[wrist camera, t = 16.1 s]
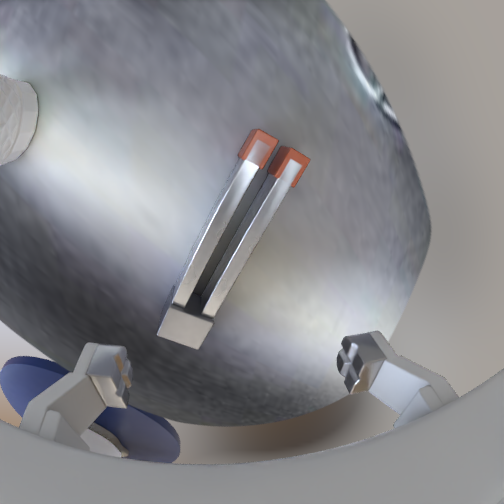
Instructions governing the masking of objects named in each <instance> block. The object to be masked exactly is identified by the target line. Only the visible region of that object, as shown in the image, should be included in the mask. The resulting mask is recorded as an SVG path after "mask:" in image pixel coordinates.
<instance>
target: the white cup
mask: <svg viewBox="0 0 504 504" xmlns="http://www.w3.org/2000/svg"><path fill="white" fill-rule="evenodd" d="M38 112H39V111H38V102H37V94H36V93H35V91H34V90H33V88H32V86H31V85H30V83H27V82H23V81H19V80H15V79H11V78H8V77H7V76H5V75H0V165H3V164H6V163H9V162H12V161H14V160H16V159H17V158H18V157H19V156H20V155H21V154H22V153H23V152H24V151H25V150H26V149H27V147H28V145H29V143H30V141H31V138H32V136H33V134H34V132H35V128H36V123H37V117H38Z"/></svg>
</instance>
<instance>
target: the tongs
mask: <svg viewBox="0 0 504 504" xmlns="http://www.w3.org/2000/svg"><path fill="white" fill-rule="evenodd" d="M278 142H279V140H278V139H276V138H274V137H273V136H271V135H269V134H267V133H265V132H264V131H262V130H260V129H254V130H252V131H251V133H250V134H249V136H248V138H247V140H246V141H245V143H244V145H243V147H242V148H241V150H240V152H239V154H238V156H239V157H240V158H239V160H238V162H237V164H236V165H235V167H234V169H233V171H232V173H231V175H230V176H229V178H228V180H227V182H226V184H225V186H224V188H223V189H222V191H221V193H220V195H219V197H218V199H217V201H216V203H215V205H214V207H213V208H212V210H211V212H210V214H209V216H208V218H207V220H206V222H205V224H204V226H203V228H202V230H201V232H200V234H199V236H198V238H197V240H196V242H195V244H194V246H193V248H192V250H191V252H190V255H189V257H188V259H187V261H186V263H185V265H184V267H183V269H182V271H181V274H180V276H179V278H178V280H177V282H176V284H175V286H173V288H172V290H171V292H170V294H169V297H168V299H167V301H166V303H165V306H164V308H163V310H162V313H161V317H160V321H159V326H158V330H157V336H160V337H163V338H166V339H168V340H171V341H174V342H177V343H180V344H182V345H185V346H188V347H191V348H194V349H197V350H198V349H199V348H200V346H201V344H202V343H203V341H204V339H205V338H206V336H207V334H208V333H209V331H210V329H211V328H212V326H213V324H214V316H215V315H216V313H217V311H218V310H219V308H220V306H221V305H222V303H223V301H224V299H225V298H226V296H227V294H228V293H229V291H230V289H231V288H232V286H233V284H234V282H235V281H236V279H237V277H238V276H239V274H240V272H241V271H242V269H243V267H244V265H245V264H246V262H247V260H248V259H249V257H250V255H251V254H252V252H253V250H254V248H255V247H256V245H257V243H258V242H259V240H260V238H261V237H262V235H263V233H264V231H265V230H266V228H267V226H268V225H269V223H270V221H271V220H272V218H273V216H274V215H275V213H276V211H277V209H278V208H279V206H280V204H281V203H282V201H283V199H284V198H285V196H286V194H287V192H288V191H289V189H290V187H291V186H292V187H295V185H296V184H297V182H298V180H299V179H300V177H301V175H302V173H303V172H304V170H305V168H306V167H307V165H308V163H309V162H310V159H309V158H308V157H306V156H304V155H303V154H301V153H300V152H298V151H296V150H295V149H293V148H290V147H285V146H281V148H280V150H279V151H278V153H277V155H276V156H275V158H274V160H273V162H272V163H271V165H270V167H269V169H268V170H267V171H268V172H269V175H268V176H267V178H266V180H265V182H264V183H263V185H262V187H261V189H260V190H259V192H258V194H257V196H256V197H255V199H254V201H253V203H252V204H251V206H250V208H249V210H248V212H247V213H246V215H245V217H244V219H243V221H242V222H241V224H240V226H239V228H238V230H237V231H236V233H235V235H234V237H233V239H232V240H231V242H230V244H229V246H228V248H227V249H226V251H225V253H224V255H223V257H222V259H221V260H220V262H219V264H218V266H217V268H216V270H215V272H214V273H213V275H212V277H211V279H210V281H209V283H208V285H207V286H206V288H205V290H204V292H203V294H202V296H199V295H196V294H194V293H192V292H193V290H194V288H195V286H196V284H197V282H198V281H199V279H200V277H201V275H202V273H203V271H204V269H205V267H206V265H207V263H208V261H209V259H210V257H211V255H212V254H213V252H214V250H215V248H216V246H217V244H218V242H219V240H220V238H221V237H222V235H223V233H224V231H225V229H226V227H227V225H228V224H229V222H230V220H231V218H232V216H233V214H234V213H235V211H236V209H237V207H238V205H239V203H240V202H241V200H242V198H243V196H244V194H245V193H246V191H247V189H248V187H249V185H250V184H251V182H252V180H253V178H254V177H255V175H256V173H257V171H258V169H263V168H264V166H265V164H266V162H267V161H268V159H269V157H270V155H271V154H272V152H273V150H274V149H275V147H276V145H277V143H278Z"/></svg>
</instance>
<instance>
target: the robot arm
mask: <svg viewBox="0 0 504 504" xmlns="http://www.w3.org/2000/svg"><path fill="white" fill-rule="evenodd" d="M341 344H342V346H343V348H342V349H341V350H340V351H339V352H338V356H337V368H338V371H339V373H340V374H341V375H342V376H344V377H345V381H344V383H345V385H346V387H347V389H348V391H349V393H350V395H351V394H355V393H360V392H364V391H369V392H370V393H371V394H373V395H374V396H375V397H377V398H378V399H379V400H381V401H382V402H383V403H385V404H386V405H387V406H389V407H390V408H391V409H393V410H394V411H395V412H397V413H398V414H399V415H400V416H399V418H398V419H397V420H396V421H395V423H394V425H393V426H394V428H395V429H392V430H390V431H387V432H384V433H381V434H379V435H376V436H373V437H370V438H367V439H364V440H361V441H358V442H354V443H351V444H347V445H343V446H340V447H336V448H332V449H329V450H324V451H320V452H315V453H310V454H305V455H300V456H295V457H289V458H282V459H275V460H268V461H259V462H249V463H235V464H173V463H159V462H149V461H141V460H133V459H126V458H121V457H126V456H128V454H129V451H128V450H127V449H126V448H124V447H123V446H122V445H121V443H120V441H119V440H118V438H117V437H116V436H115V435H113V434H112V433H111V432H109V431H108V430H106V429H105V428H103V427H101V426H100V425H98V424H96V423H94V421H95V419H96V418H97V417H98V416H99V415H100V414H101V413H102V412H103V411H104V410H105V408H106V406H109V407H118V408H127V405H128V400H129V396H130V394H129V392H128V390H127V389H128V388H129V387H130V386H131V385H132V381H133V369H132V365H131V362H130V361H129V360H128V359H126V357H127V354H128V353H127V351H126V348H125V347H124V346H118V345H108V344H97V343H89V342H88V343H87V344H86V345H85V346H84V349H83V351H82V353H81V355H80V358H79V360H78V362H77V364H76V367H75V369H74V371H73V373H68V374H67V375H65V376H64V377H63V378H61V379H60V380H59V381H57V382H56V383H54V384H53V385H52V386H50V387H49V388H48V389H46V390H45V391H44V392H42V393H41V394H39V395H38V396H37V397H35V398H34V399H33V400H31V401H30V402H29V403H28V406H27V408H26V411H25V413H24V416H23V418H22V421H21V423H20V426H19V428H18V427H16V426H13V425H11V424H9V423H6V422H5V421H3V420H0V504H504V369H502V370H501V371H499V372H498V373H497V374H495V375H494V376H492V377H491V378H490V379H488V380H486V381H485V382H484V383H482V384H481V385H479V386H477V387H476V388H474V389H473V390H471V391H469V392H468V393H466V394H464V395H463V396H461V397H458V395H457V394H456V392H455V391H454V390H453V388H452V387H451V386H450V384H449V383H448V382H447V381H446V379H445V378H444V377H443V376H441V375H439V374H437V373H435V372H433V371H431V370H429V369H427V368H425V367H423V366H421V365H419V364H417V363H415V362H413V361H411V360H409V359H407V358H405V357H403V356H398V355H397V354H396V353H395V351H394V350H393V348H392V347H391V346H390V344H389V343H388V342H387V340H386V339H385V337H384V336H383V335H382V333H381V332H379V331H373V332H368V333H363V334H357V335H351V336H345V337H344V338H343V340H342V343H341Z"/></svg>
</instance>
